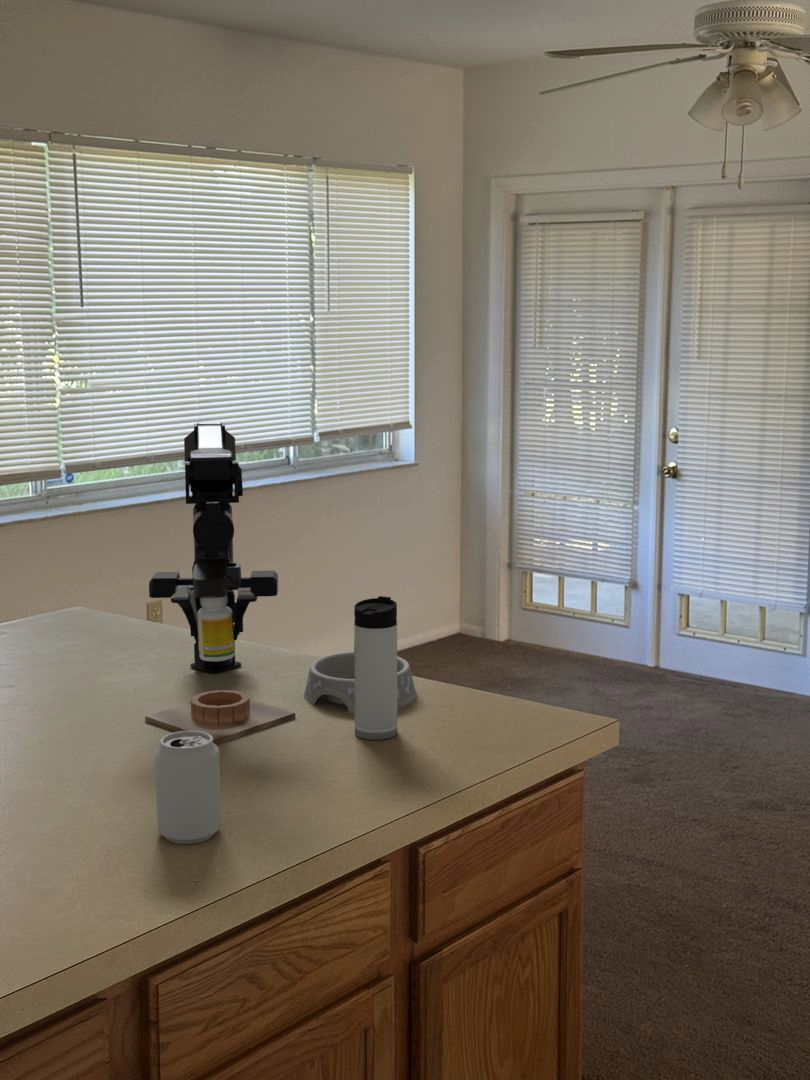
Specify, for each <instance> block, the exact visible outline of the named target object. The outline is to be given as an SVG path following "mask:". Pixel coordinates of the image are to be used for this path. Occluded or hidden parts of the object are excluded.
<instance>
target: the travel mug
mask: <svg viewBox="0 0 810 1080" xmlns="http://www.w3.org/2000/svg"><path fill="white" fill-rule="evenodd" d="M391 598H392V597H390V596H385V595H384V596H383V595H379V596H377V597H376V598H374V597H373V598H368V599H367V598H366V599H363V600H360V601H358V602H356V603H355V604H354V610H353V611H354V613H353V614H354V622H353V628H354V629H353V639H354V640H353V647H354V649H353V652H354V681H355V713H354V734H355V736H357V738H358V737H359V738H360V739H363V740H368V741H383V740H384V741H385V740H388V739H392V738H393V737H395V736H397V733H398V708H397V656H398V620H397V618H398V604H397V602H396V601H395V600H392V599H391Z"/></svg>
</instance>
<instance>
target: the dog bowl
mask: <svg viewBox="0 0 810 1080" xmlns="http://www.w3.org/2000/svg"><path fill="white" fill-rule="evenodd" d="M303 693H304V694H303V697H304V699H305V701H306V702H307V703H309V704H310V705H312V706H315V704H316V702H317V700H318V699H319V698H320V697H322V698H323V699H324V700H327V701H329V702H331V703H334V704H338V705H339V704H340V705H345V706H346V707H347V711H348V713H354V714H355V681H354V651H347V652H346V651H345V652H339V653H333V654H328V655H325V656H322V657H320V658H317V659H316V660H314V661H313V662H312V663H310V666H309V670H308V675H307V679H306V685H305V689H304V692H303ZM417 695H418V694H417V690H416V688H415V684H414V680H413V675H412V671H411V666H410V663H409V662H408V661H407V660H406V659H404V658H403V657H400V656H398V655H397V709H399V708H402V707H404V706H406V705H410V704H411V703H412V702H413V701H415V700H416V698H417Z"/></svg>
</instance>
